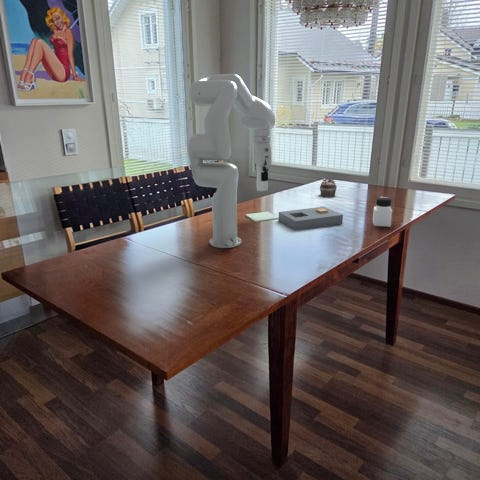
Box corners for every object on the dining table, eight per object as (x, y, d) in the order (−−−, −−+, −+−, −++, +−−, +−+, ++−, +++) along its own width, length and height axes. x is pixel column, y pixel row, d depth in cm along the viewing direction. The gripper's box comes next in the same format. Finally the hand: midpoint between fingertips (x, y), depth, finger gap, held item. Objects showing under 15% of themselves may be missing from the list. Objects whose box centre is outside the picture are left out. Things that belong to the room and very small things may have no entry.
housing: (342, 223, 184) (342, 214, 182) (294, 229, 176) (295, 221, 174) (323, 214, 198) (323, 206, 196) (278, 220, 190) (278, 212, 188)
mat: (278, 218, 192) (278, 217, 192) (255, 221, 188) (255, 220, 188) (268, 212, 202) (268, 211, 202) (245, 215, 198) (245, 214, 198)
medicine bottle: (391, 226, 177) (393, 200, 173) (373, 226, 179) (376, 199, 175) (388, 222, 184) (391, 196, 180) (372, 221, 185) (374, 195, 181)
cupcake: (316, 194, 239) (317, 177, 235) (331, 193, 241) (332, 176, 238) (324, 198, 230) (325, 180, 227) (339, 196, 233) (340, 179, 229)
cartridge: (269, 190, 190) (269, 162, 185) (259, 191, 188) (259, 163, 183) (264, 188, 194) (265, 160, 190) (254, 189, 192) (254, 161, 188)
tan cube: (327, 219, 187) (327, 210, 186) (320, 220, 186) (320, 211, 185) (322, 217, 191) (323, 208, 189) (315, 218, 190) (316, 209, 188)
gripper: (277, 141, 177) (277, 182, 183) (261, 137, 192) (262, 176, 198) (261, 142, 175) (262, 183, 181) (247, 138, 190) (247, 177, 196)
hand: (262, 179), depth 189 cm, fingers closed on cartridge, 5 cm apart
